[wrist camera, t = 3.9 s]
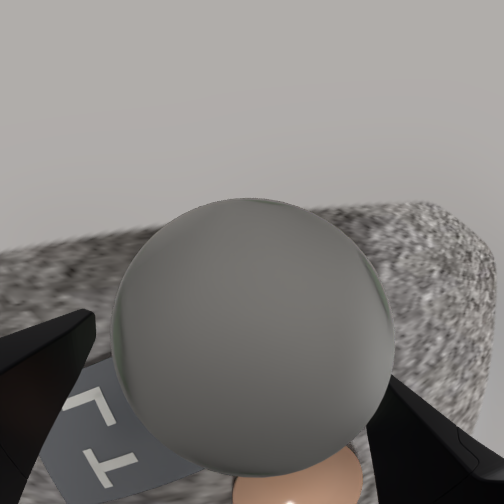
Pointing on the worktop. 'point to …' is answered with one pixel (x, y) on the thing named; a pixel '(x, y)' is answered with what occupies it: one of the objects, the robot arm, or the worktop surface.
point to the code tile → (105, 444)
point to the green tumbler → (252, 337)
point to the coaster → (306, 484)
